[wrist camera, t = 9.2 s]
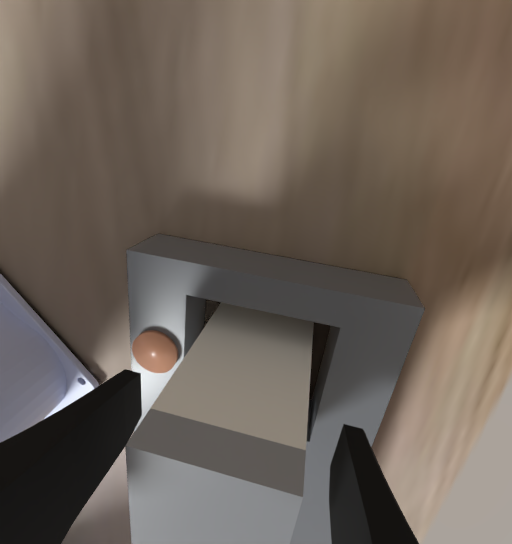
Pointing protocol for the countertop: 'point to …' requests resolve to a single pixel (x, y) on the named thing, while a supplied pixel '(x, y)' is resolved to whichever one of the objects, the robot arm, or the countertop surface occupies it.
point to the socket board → (288, 302)
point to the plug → (226, 436)
